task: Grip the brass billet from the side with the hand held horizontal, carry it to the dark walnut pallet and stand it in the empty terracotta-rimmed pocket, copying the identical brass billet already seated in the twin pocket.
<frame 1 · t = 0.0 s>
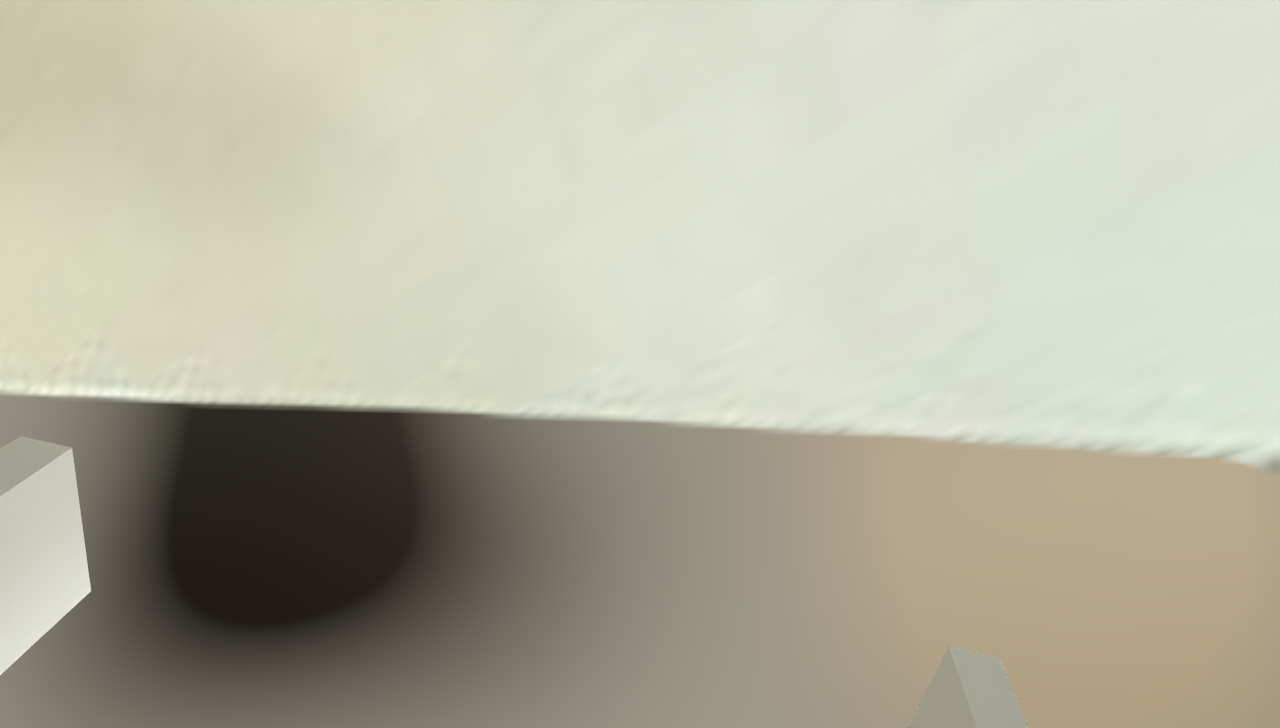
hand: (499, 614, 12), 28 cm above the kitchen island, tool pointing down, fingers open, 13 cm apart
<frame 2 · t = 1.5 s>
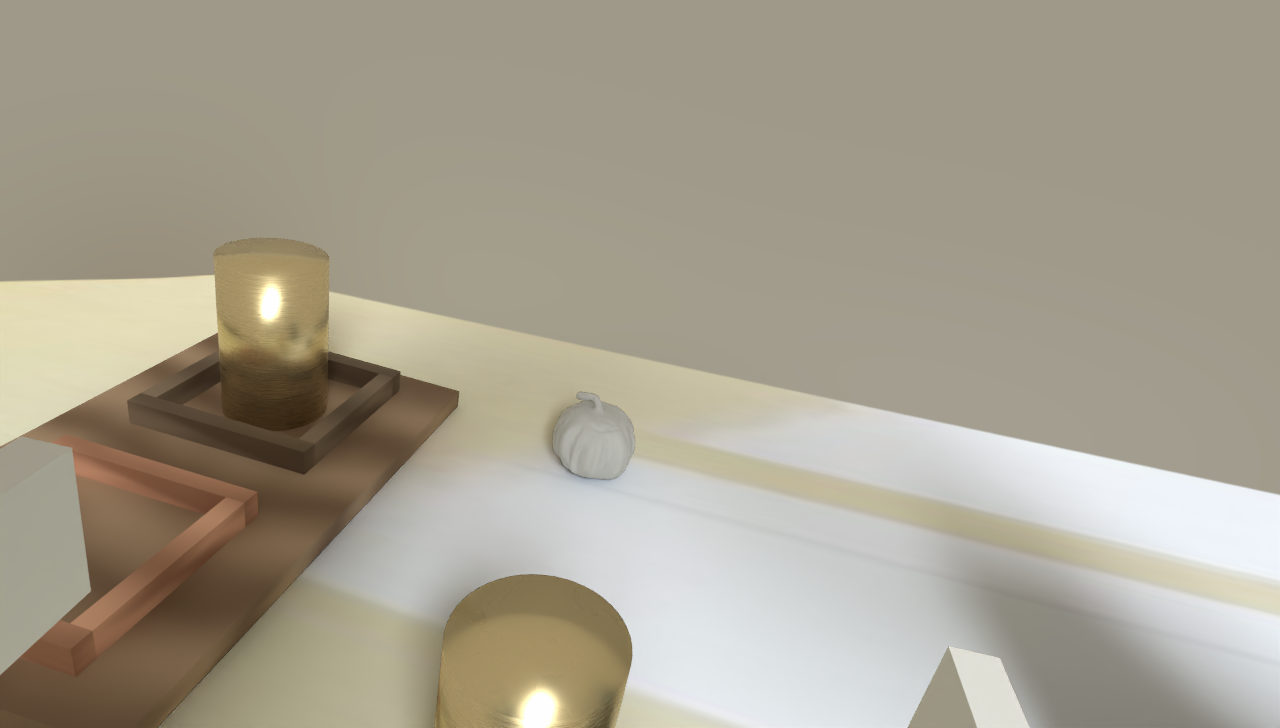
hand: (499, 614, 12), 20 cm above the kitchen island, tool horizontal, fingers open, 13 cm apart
garlic: (587, 469, 52), on the kitchen island
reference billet: (276, 405, 49), resting on pallet
pallet: (191, 484, 43), on the kitchen island
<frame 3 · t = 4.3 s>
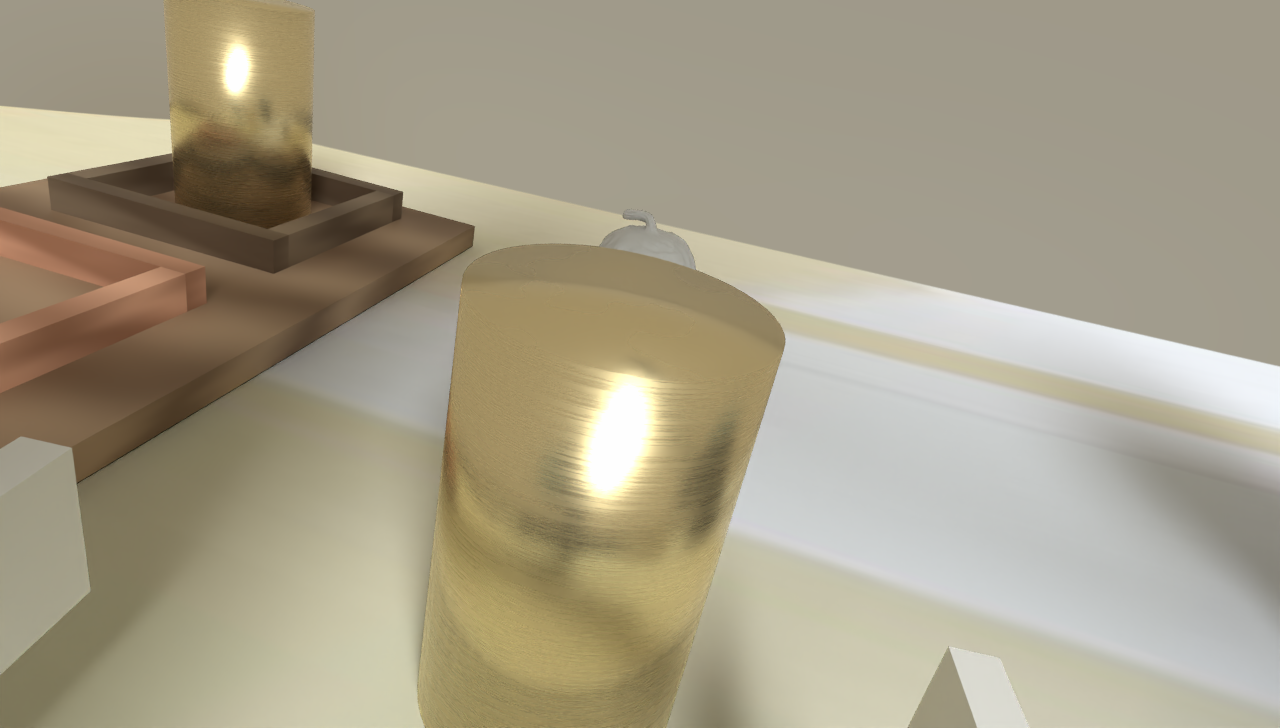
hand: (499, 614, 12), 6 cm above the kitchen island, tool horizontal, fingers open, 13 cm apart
garlic: (633, 314, 42), on the kitchen island
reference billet: (245, 214, 39), resting on pallet
pallet: (125, 280, 33), on the kitchen island
brass billet: (547, 683, 19), on the kitchen island
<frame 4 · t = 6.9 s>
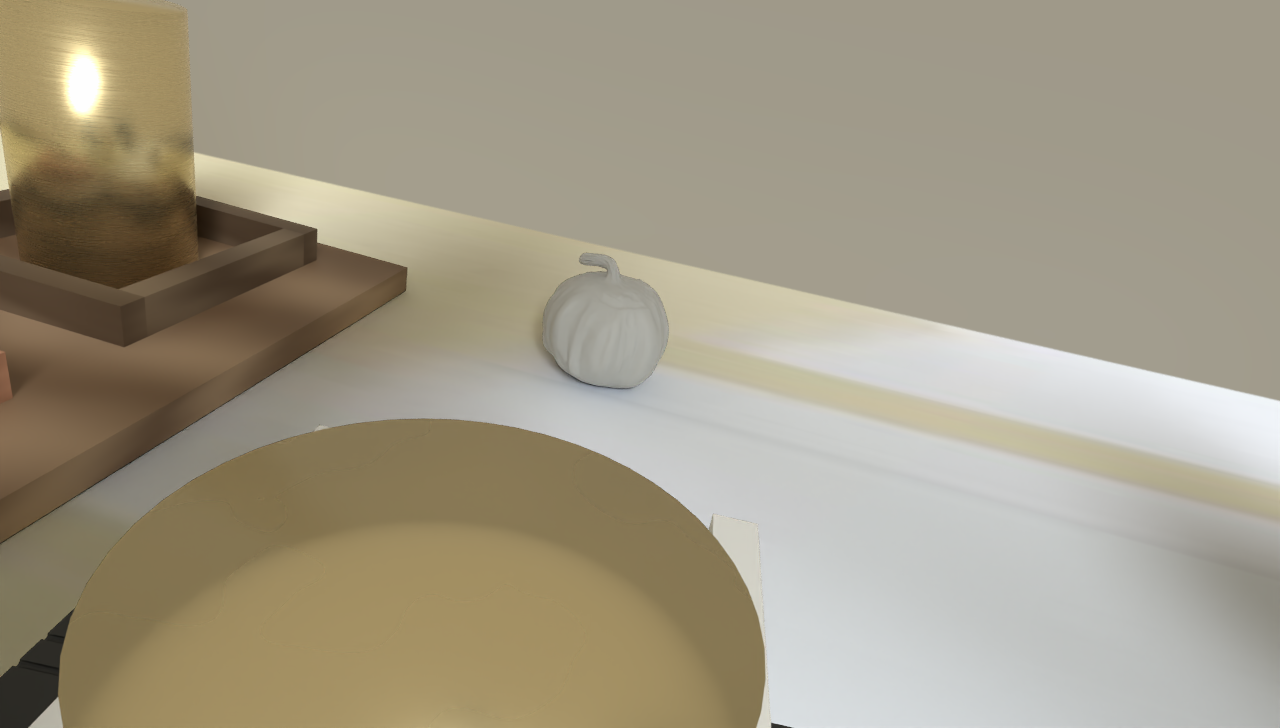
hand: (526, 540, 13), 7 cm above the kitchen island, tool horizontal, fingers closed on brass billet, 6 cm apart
garlic: (594, 377, 34), on the kitchen island
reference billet: (113, 261, 32), resting on pallet
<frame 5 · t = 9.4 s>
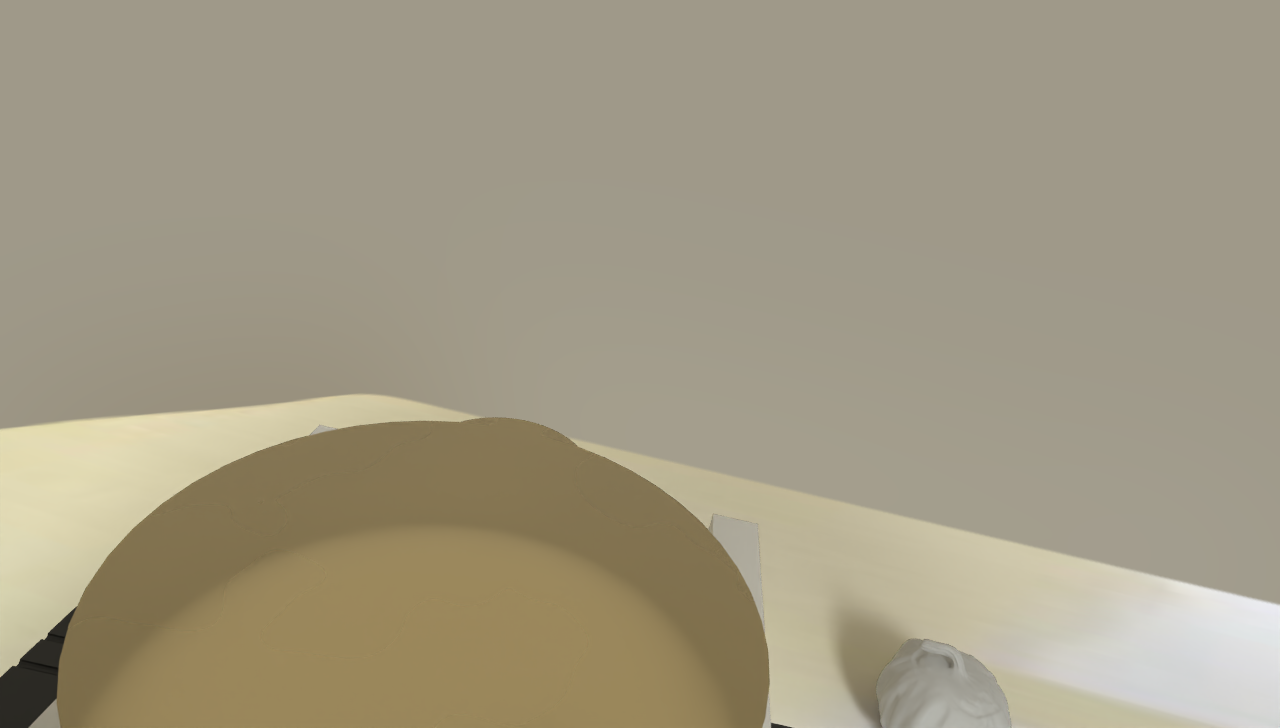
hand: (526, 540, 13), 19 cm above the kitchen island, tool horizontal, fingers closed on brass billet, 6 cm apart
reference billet: (479, 658, 33), resting on pallet
when the fingers open (9 cm above the kitchen island, at t = 11.9 s): brass billet drops 1 cm, resting on pallet.
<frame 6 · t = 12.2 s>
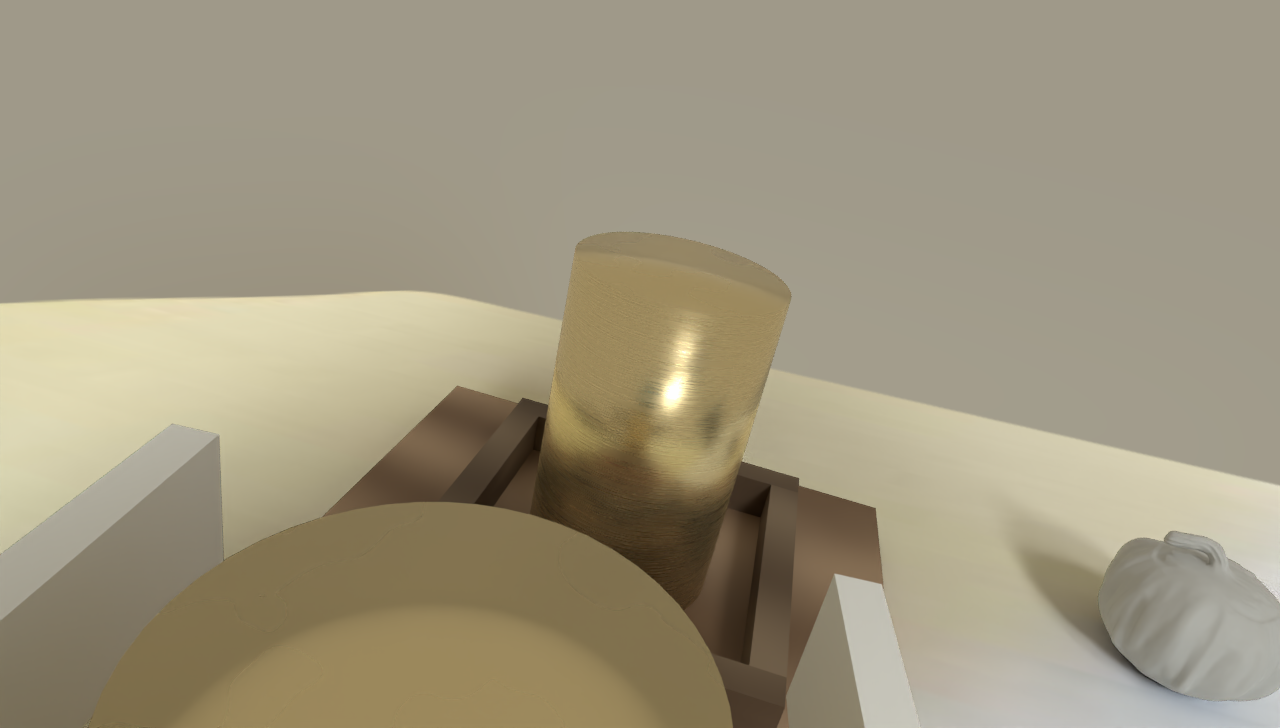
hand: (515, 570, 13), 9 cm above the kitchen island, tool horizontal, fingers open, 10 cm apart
garlic: (1154, 668, 28), on the kitchen island
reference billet: (615, 554, 26), resting on pallet
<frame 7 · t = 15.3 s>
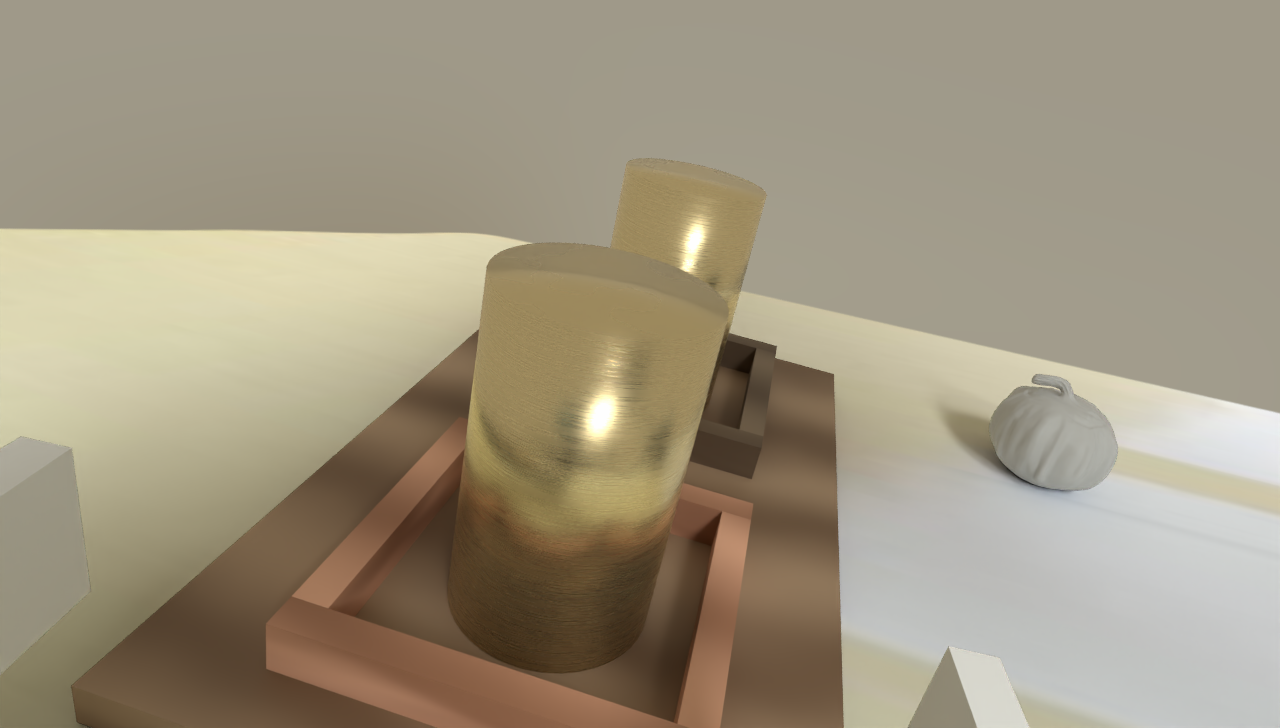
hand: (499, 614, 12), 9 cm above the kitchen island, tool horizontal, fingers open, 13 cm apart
garlic: (1029, 477, 40), on the kitchen island
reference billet: (648, 386, 37), resting on pallet
pallet: (603, 491, 31), on the kitchen island
brass billet: (549, 593, 23), point 1 cm above the kitchen island, touching pallet
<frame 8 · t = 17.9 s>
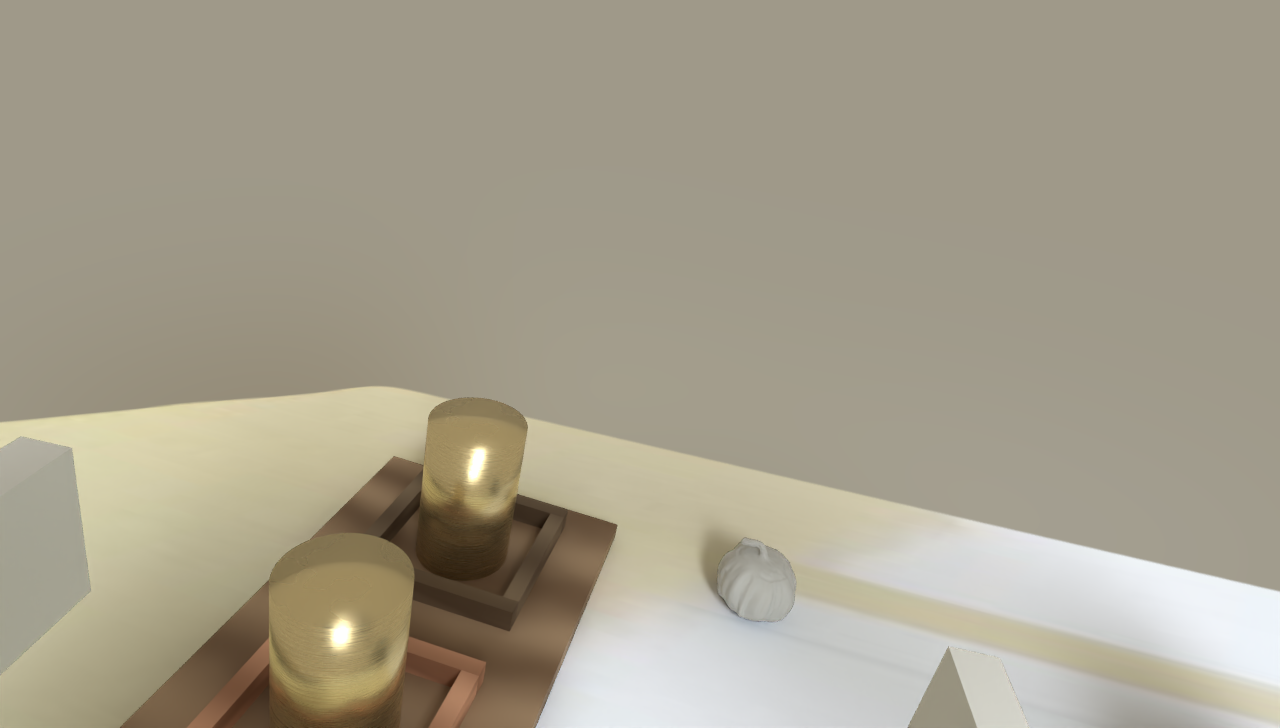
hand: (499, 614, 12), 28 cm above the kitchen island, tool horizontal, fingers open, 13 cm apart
garlic: (746, 608, 55), on the kitchen island
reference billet: (462, 549, 52), resting on pallet
pallet: (407, 641, 46), on the kitchen island
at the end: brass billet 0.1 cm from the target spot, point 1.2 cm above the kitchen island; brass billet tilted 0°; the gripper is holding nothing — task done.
